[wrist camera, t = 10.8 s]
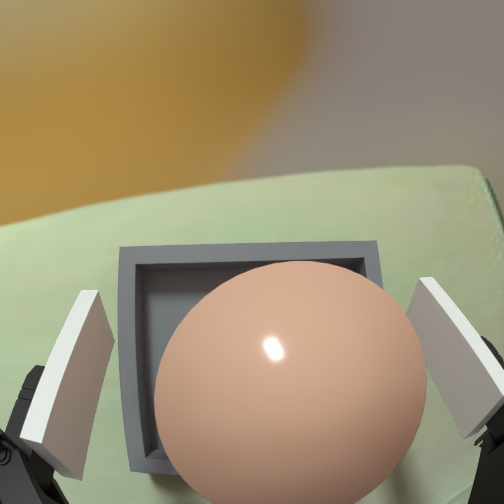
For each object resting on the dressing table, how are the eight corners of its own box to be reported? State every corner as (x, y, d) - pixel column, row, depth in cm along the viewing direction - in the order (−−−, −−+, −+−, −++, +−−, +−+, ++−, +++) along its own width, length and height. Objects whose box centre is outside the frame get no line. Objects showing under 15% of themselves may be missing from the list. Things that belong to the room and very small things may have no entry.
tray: (140, 457, 16) (130, 471, 14) (131, 257, 19) (119, 247, 17) (371, 440, 17) (388, 450, 15) (360, 251, 21) (376, 240, 18)
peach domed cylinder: (174, 365, 17) (98, 412, 6) (246, 285, 19) (286, 205, 7) (258, 433, 17) (309, 553, 5) (327, 353, 18) (463, 366, 7)
